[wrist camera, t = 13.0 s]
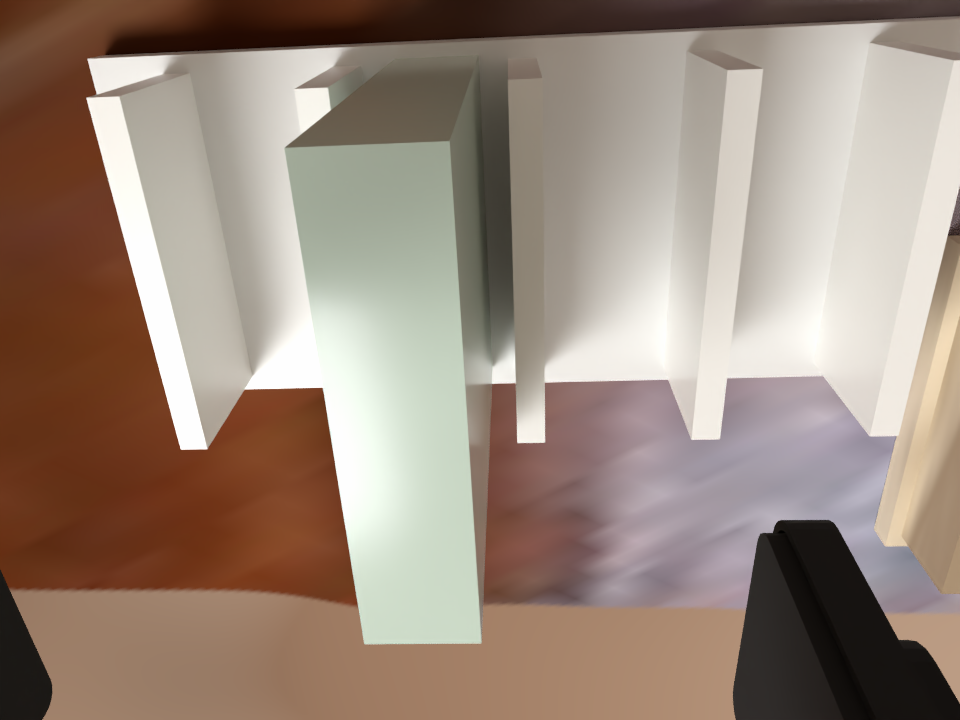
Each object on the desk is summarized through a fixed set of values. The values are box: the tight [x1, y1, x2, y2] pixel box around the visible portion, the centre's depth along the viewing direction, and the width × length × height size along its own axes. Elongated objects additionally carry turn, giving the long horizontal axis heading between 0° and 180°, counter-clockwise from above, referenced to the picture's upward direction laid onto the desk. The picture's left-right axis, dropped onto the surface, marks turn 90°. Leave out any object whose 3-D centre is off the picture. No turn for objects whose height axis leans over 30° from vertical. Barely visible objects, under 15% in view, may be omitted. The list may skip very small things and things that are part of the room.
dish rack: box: [87, 16, 960, 449], centre depth 22 cm, size 25×11×6 cm, turn 93°
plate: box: [284, 55, 493, 644], centre depth 19 cm, size 2×10×12 cm, turn 3°
